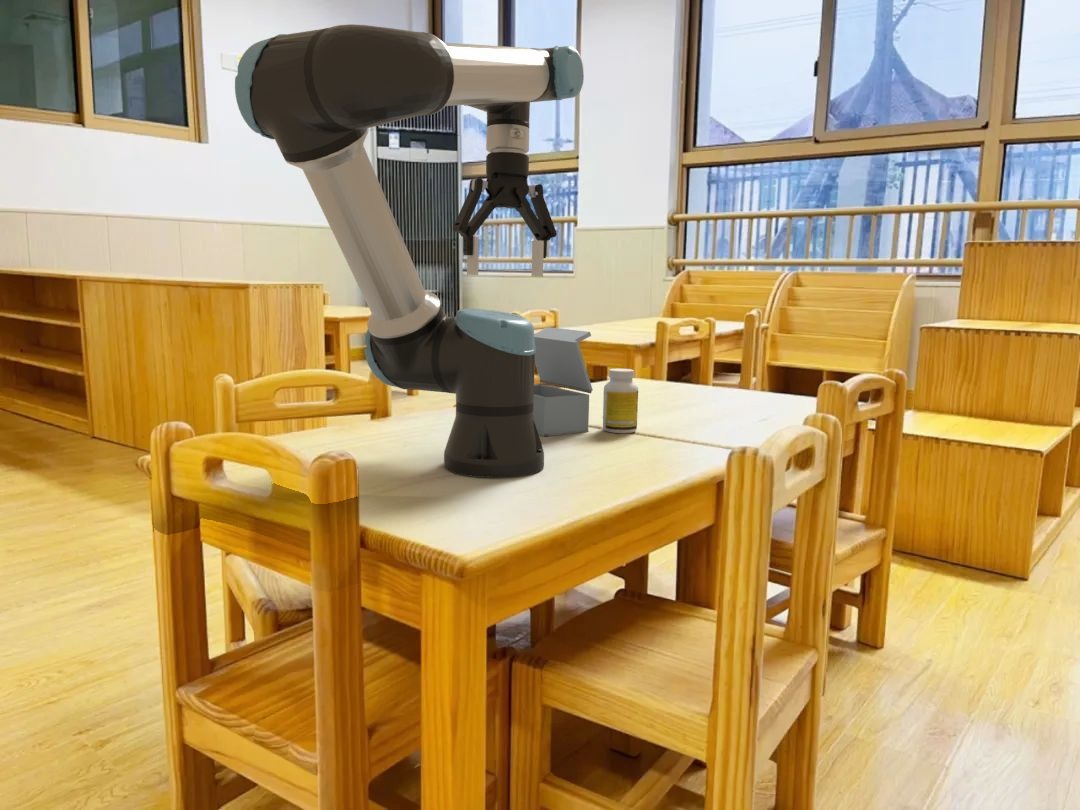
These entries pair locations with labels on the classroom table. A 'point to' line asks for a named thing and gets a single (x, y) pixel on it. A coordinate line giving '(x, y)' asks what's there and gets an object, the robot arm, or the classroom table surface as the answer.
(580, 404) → the box
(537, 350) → the lid
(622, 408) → the pill bottle
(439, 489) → the classroom table surface
